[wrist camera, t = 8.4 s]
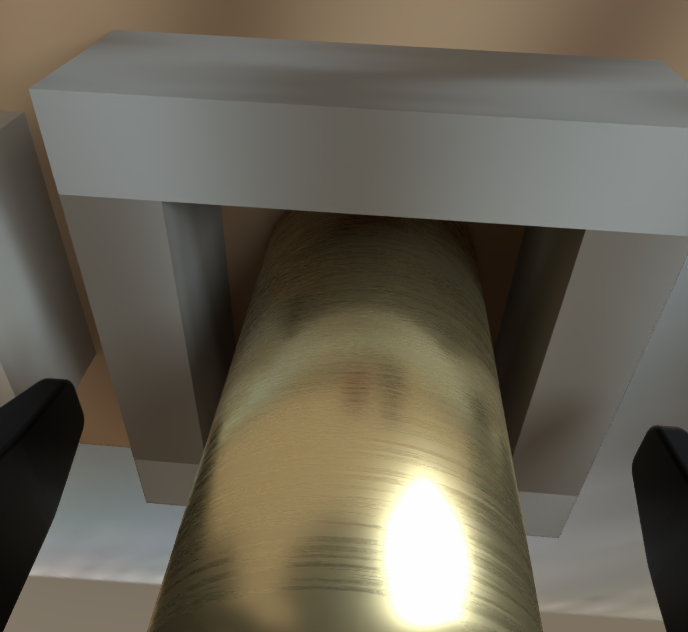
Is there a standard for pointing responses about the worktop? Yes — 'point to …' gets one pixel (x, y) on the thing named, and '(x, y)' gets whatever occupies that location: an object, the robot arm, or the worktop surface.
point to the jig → (336, 196)
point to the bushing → (357, 448)
